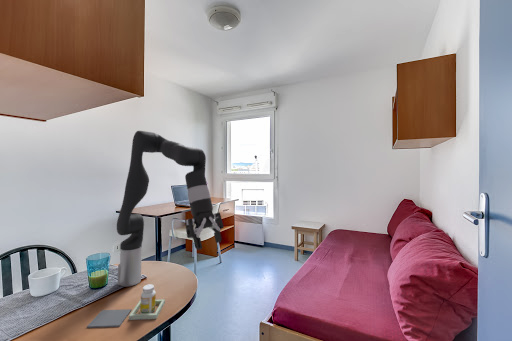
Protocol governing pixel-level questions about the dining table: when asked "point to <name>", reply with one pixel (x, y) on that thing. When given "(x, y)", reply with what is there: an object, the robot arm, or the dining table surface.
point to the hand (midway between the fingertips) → (209, 245)
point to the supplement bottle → (148, 299)
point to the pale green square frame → (150, 315)
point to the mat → (109, 318)
